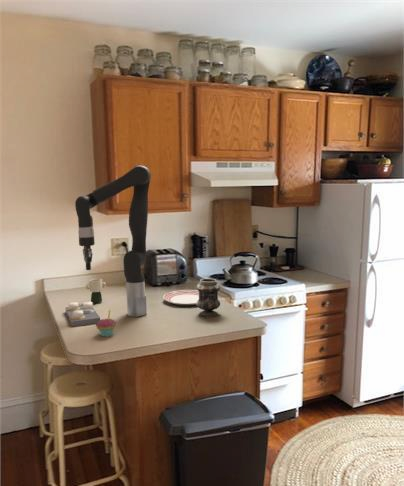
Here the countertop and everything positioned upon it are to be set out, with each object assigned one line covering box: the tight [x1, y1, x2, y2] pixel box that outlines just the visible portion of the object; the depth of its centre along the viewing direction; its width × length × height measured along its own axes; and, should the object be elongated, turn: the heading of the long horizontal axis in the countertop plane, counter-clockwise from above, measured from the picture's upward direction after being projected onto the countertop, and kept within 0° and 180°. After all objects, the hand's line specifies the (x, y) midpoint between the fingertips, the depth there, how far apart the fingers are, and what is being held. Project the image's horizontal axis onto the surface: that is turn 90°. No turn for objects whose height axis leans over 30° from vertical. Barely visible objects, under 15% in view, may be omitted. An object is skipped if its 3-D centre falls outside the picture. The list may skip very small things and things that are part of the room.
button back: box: [68, 301, 79, 309], centre depth 218 cm, size 5×5×2 cm
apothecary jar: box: [195, 277, 221, 318], centre depth 214 cm, size 12×12×18 cm
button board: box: [65, 304, 101, 328], centre depth 213 cm, size 26×13×3 cm, turn 25°
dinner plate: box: [162, 289, 199, 306], centre depth 241 cm, size 28×27×3 cm
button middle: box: [82, 301, 94, 309], centre depth 213 cm, size 5×5×2 cm
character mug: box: [85, 278, 107, 304], centre depth 239 cm, size 11×7×13 cm, turn 111°
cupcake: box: [95, 309, 117, 337], centre depth 186 cm, size 9×8×12 cm
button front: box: [73, 310, 83, 318], centre depth 204 cm, size 5×5×2 cm
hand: (88, 269), depth 214 cm, fingers closed
